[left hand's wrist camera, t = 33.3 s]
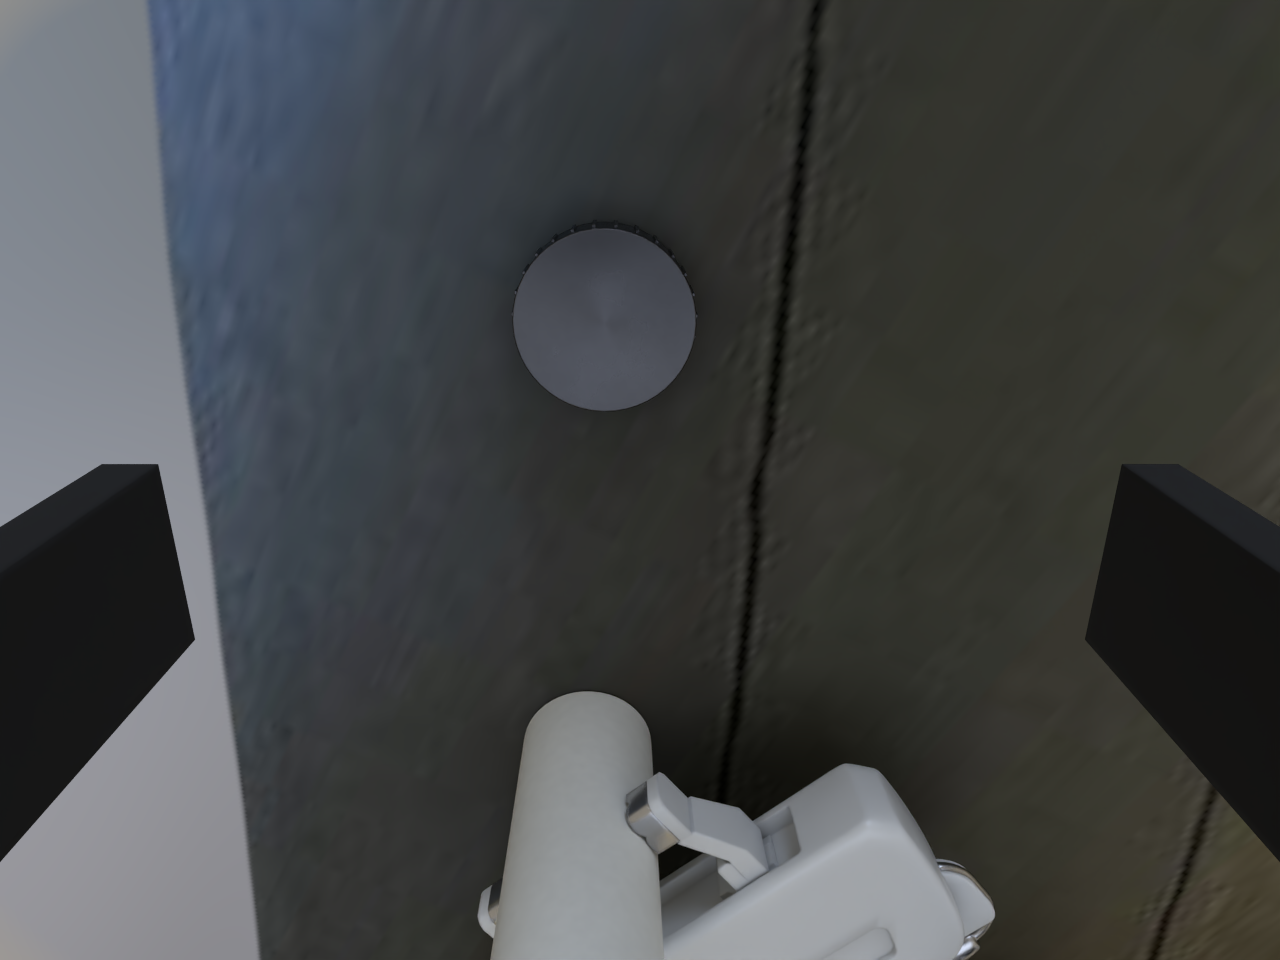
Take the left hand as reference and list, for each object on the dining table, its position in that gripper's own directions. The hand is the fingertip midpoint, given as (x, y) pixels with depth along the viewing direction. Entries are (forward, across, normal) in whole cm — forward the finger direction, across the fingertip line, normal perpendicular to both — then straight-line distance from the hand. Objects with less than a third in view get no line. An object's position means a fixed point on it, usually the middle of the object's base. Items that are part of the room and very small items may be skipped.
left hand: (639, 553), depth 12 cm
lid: (+18, -1, 0) cm, 18 cm away
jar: (+20, -2, -19) cm, 28 cm away
